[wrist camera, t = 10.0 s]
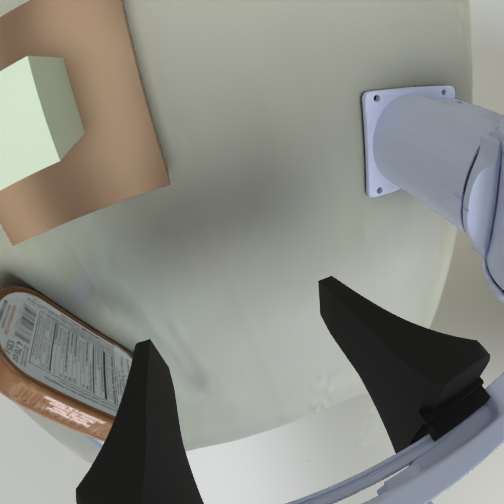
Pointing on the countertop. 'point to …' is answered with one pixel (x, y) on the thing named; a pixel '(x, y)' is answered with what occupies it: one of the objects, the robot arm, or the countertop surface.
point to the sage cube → (35, 117)
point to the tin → (59, 364)
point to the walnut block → (84, 114)
